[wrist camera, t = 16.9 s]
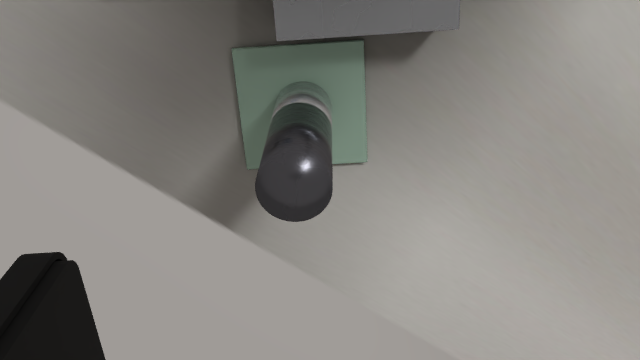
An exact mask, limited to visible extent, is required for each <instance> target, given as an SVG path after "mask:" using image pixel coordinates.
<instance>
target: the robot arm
mask: <svg viewBox="0 0 640 360" xmlns="http://www.w3.org/2000/svg"><path fill="white" fill-rule="evenodd" d="M0 360H105V357H104V353H103V350H102V347H101V343H100V340H99V336H98V332H97V329H96V325H95V322H94V319H93V315H92V312H91V308H90V305H89V302H88V298H87V294H86V291H85V288H84V284H83V281H82V277H81V274H80V270H79V267H78V265H77V264H76V262H74V261H73V260H70V261H67V258H66V257H65V256H64V254H62V253H60V252H52V253H35V254H24V255H21V256H20V257H19V258H17V260H16V261H15V262H14V263H13V265H12V266H11V267H10V268H9V270H8V271H7V272H6V273H5V274H4V276H3V277H2V278H1V280H0Z"/></svg>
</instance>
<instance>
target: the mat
mask: <svg viewBox="0 0 640 360" xmlns="http://www.w3.org/2000/svg"><path fill="white" fill-rule="evenodd" d="M232 57H233V65H234V72H235V80H236V88H237V96H238V103H239V111H240V119H241V127H242V134H243V142H244V150H245V158H246V165H247V169H259V166H260V162H261V158H262V154H263V150H264V146H265V142H266V138H267V134H268V130H269V126H270V123H271V119H272V115H273V111H274V107H275V103H276V99H277V97H278V95H279V93H280V92H281V91H282V90H283V89H284V88H285V87H286V86H288V85H290V84H292V83H295V82H300V81H306V82H311V83H314V84H316V85H318V86H320V87H321V88H322V89H323V90H325V92H326V93H327V94H328V96H329V98H330V100H331V105H332V164H343V163H359V162H367V134H366V101H365V68H364V41H363V40H348V41H333V42H318V43H303V44H288V45H273V46H257V47H242V48H232Z"/></svg>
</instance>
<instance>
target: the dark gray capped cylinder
mask: <svg viewBox="0 0 640 360" xmlns="http://www.w3.org/2000/svg"><path fill="white" fill-rule="evenodd" d="M255 191H256V195H257V198H258V200H259V202H260V204H261V205H262V207H263V208H264V209H265V210H266V211H267V212H268V213H270V214H271V215H273V216H274V217H276V218H279V219H281V220H285V221H291V222H299V221H305V220H308V219H311V218H313V217H315V216H317V215H318V214H320V213H321V212H322V211H323V210H324V209H325V208H326V206H327V205H328V203H329V201H330V199H331V196H332V105H331V100H330V98H329V96H328V94H327V93H326V92H325V90H323V89H322V88H321V87H320V86H318V85H316V84H314V83H311V82H306V81H300V82H295V83H292V84H290V85H288V86H286V87H285V88H284V89H283V90H282V91H281V92H280V93H279V95H278V97H277V99H276V103H275V107H274V111H273V115H272V119H271V123H270V126H269V130H268V134H267V138H266V142H265V146H264V150H263V154H262V158H261V162H260V166H259V170H258V174H257V177H256V182H255Z"/></svg>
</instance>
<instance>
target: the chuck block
mask: <svg viewBox="0 0 640 360" xmlns="http://www.w3.org/2000/svg"><path fill="white" fill-rule="evenodd" d="M273 8H274V19H275V29H276V40H277V41H289V40H304V39H319V38H334V37H349V36H364V35H379V34H395V33H410V32H425V31H440V30H455V29H459V16H460V0H273Z"/></svg>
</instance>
